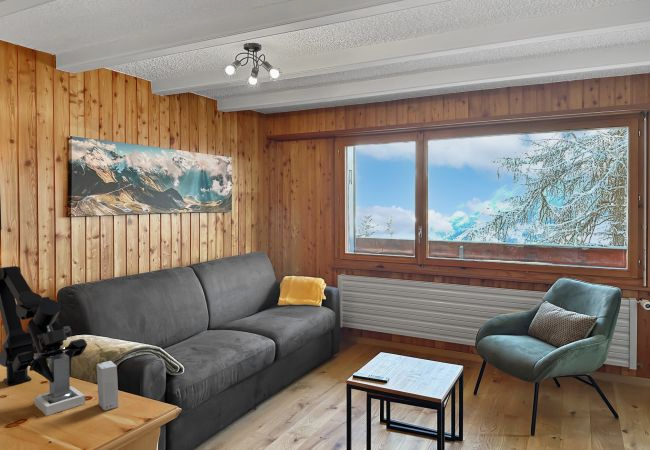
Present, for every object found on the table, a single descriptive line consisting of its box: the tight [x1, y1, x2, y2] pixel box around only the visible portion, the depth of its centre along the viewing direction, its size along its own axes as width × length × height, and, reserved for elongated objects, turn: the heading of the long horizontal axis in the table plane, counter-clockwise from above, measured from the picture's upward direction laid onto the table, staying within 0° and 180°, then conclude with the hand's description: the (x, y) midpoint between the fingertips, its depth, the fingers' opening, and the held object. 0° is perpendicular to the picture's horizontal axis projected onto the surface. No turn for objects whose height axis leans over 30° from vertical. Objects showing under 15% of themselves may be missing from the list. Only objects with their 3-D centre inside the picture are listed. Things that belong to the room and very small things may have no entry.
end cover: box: [48, 353, 72, 404], centre depth 133 cm, size 6×6×13 cm
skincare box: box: [96, 360, 120, 411], centre depth 132 cm, size 6×4×12 cm
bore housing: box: [34, 385, 86, 417], centre depth 133 cm, size 10×10×2 cm
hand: (61, 379), depth 132 cm, fingers closed on end cover, 4 cm apart
